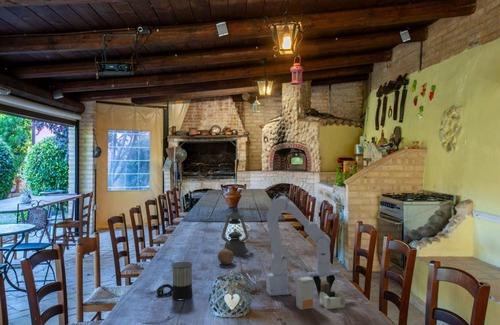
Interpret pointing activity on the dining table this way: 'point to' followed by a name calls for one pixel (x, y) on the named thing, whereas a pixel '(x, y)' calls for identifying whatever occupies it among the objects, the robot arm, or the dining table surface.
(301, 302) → the skincare box
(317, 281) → the robot arm
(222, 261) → the onion
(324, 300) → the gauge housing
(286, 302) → the dining table surface
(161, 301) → the dining table surface
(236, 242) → the lantern
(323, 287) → the walnut block
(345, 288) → the dining table surface
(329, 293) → the plunger
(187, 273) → the milk frother
